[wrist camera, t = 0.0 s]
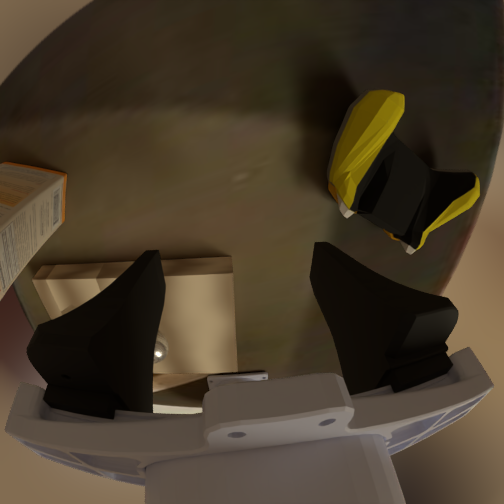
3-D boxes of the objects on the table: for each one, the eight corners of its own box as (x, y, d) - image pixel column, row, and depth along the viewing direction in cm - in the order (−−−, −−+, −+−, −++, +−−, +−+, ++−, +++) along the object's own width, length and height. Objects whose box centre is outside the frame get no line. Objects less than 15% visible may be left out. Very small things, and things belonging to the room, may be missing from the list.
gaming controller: (351, 77, 17) (292, 180, 21) (389, 75, 13) (314, 206, 17) (454, 169, 22) (407, 245, 26) (490, 188, 17) (436, 274, 22)
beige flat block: (231, 256, 24) (233, 273, 22) (236, 354, 32) (237, 371, 30) (42, 265, 22) (31, 279, 20) (86, 353, 30) (81, 367, 28)
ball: (173, 344, 26) (170, 370, 23) (143, 344, 26) (138, 369, 23) (166, 323, 24) (162, 349, 22) (135, 323, 24) (128, 348, 21)
